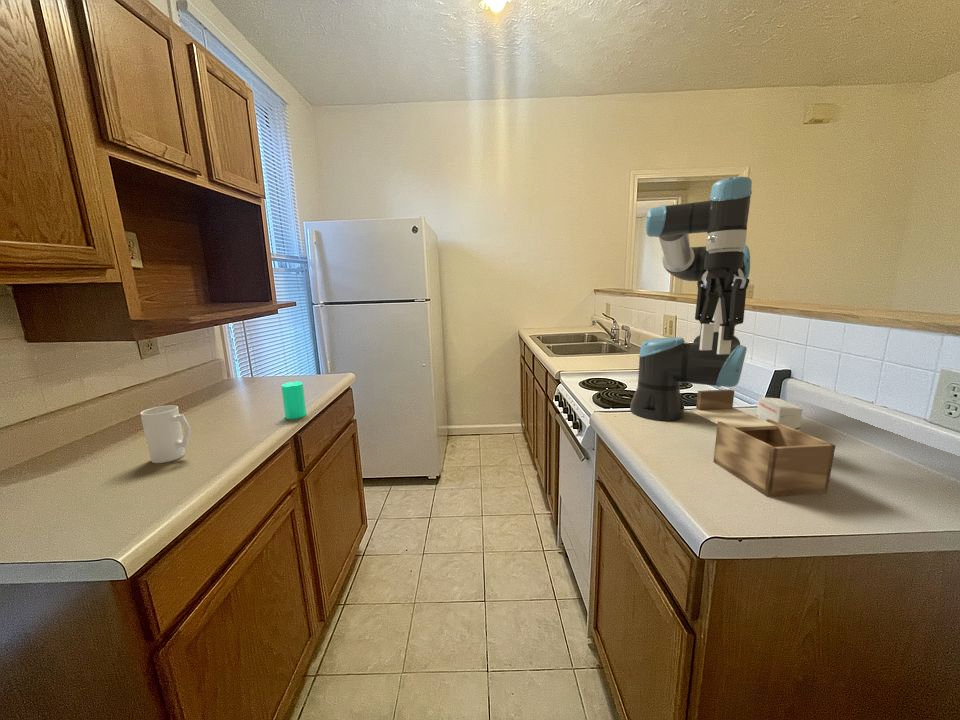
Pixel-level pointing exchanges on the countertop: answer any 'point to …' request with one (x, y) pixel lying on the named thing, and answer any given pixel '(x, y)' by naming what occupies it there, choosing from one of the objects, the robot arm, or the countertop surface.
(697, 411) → the lid
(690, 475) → the countertop surface
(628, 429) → the countertop surface
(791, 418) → the ink box
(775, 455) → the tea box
